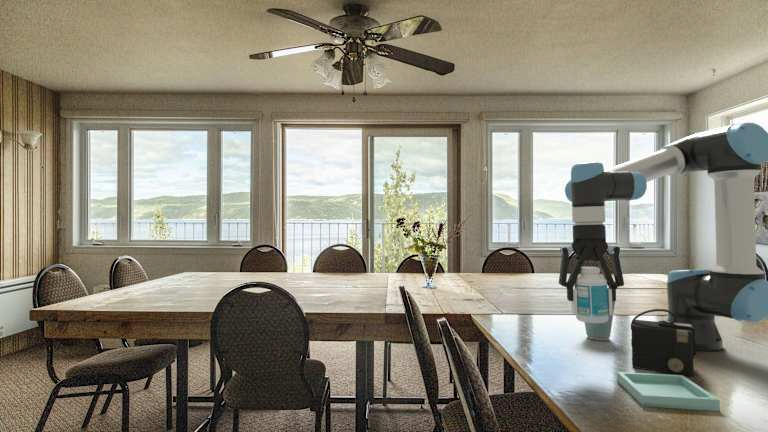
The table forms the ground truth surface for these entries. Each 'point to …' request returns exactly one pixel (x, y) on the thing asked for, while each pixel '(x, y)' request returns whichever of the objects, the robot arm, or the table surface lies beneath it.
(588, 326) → the disposable coffee cup
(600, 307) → the pill bottle
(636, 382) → the tray
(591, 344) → the table surface
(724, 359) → the table surface
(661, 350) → the camera
